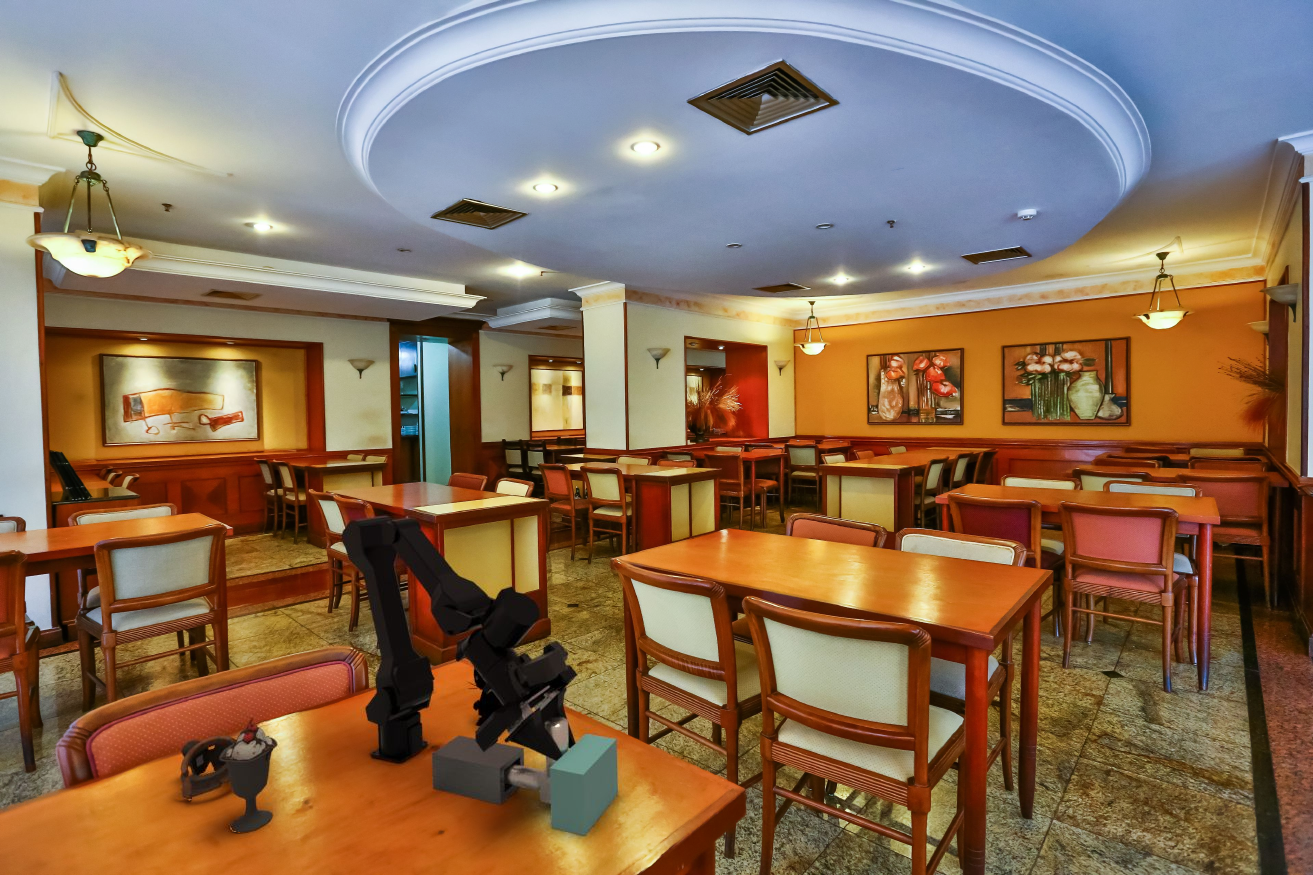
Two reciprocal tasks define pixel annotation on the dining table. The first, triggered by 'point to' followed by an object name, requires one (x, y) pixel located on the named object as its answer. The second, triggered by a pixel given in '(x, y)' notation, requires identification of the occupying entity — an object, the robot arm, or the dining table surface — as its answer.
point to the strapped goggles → (204, 765)
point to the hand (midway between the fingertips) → (567, 752)
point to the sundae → (249, 774)
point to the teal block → (583, 784)
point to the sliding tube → (540, 777)
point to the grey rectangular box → (475, 769)
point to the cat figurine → (484, 700)
